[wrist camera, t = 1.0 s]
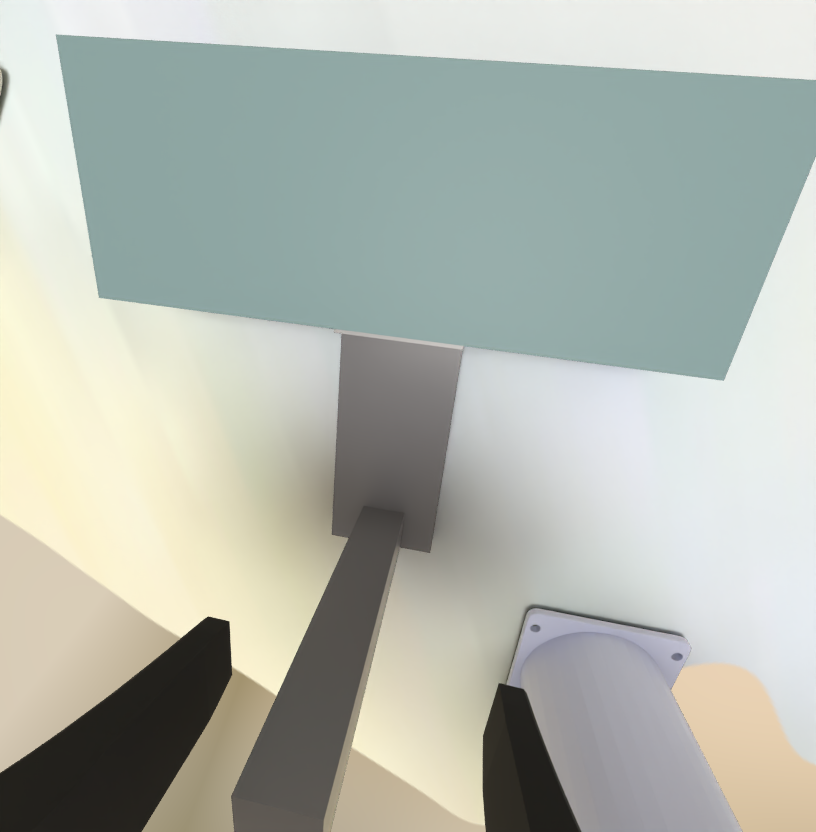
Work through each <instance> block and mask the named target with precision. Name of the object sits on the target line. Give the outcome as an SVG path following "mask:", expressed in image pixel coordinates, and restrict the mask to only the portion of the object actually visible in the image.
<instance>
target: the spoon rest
mask: <svg viewBox="0 0 816 832" xmlns="http://www.w3.org/2000/svg"><path fill="white" fill-rule="evenodd" d="M1 88H2V73H1V70H0V94H1Z"/></svg>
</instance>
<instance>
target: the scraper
mask: <svg viewBox="0 0 816 832" xmlns="http://www.w3.org/2000/svg"><path fill="white" fill-rule="evenodd" d="M334 333H341V334H342V337H341V358H340V378H339V399H338V419H337V439H336V460H335V480H334V501H333V521H332V535H337V536H342V537H348V538H349V539H348V541H347V543H346V545H345V548H344V550H343V552H342V554H341V556H340V559H339V561H338V563H337V565H336V567H335V570H334V572H333V574H332V576H331V578H330V581H329V583H328V585H327V587H326V589H325V592H324V594H323V596H322V598H321V600H320V603H319V605H318V607H317V609H316V611H315V613H314V616H313V618H312V620H311V622H310V624H309V627H308V629H307V631H306V633H305V635H304V638H303V640H302V642H301V644H300V646H299V649H298V651H297V653H296V655H295V657H294V660H293V662H292V664H291V666H290V668H289V670H288V673H287V675H286V677H285V679H284V681H283V684H282V686H281V688H280V690H279V692H278V695H277V697H276V699H275V701H274V703H273V706H272V708H271V710H270V712H269V714H268V717H267V719H266V721H265V723H264V725H263V728H262V730H261V732H260V734H259V737H258V739H257V741H256V743H255V745H254V747H253V750H252V752H251V754H250V756H249V758H248V760H247V763H246V765H245V767H244V769H243V771H242V774H241V776H240V778H239V780H238V782H237V785H236V787H235V789H234V791H233V793H232V796H231V799H232V810H233V822H234V832H331V828H332V824H333V820H334V815H335V811H336V807H337V803H338V799H339V795H340V790H341V787H342V783H343V778H344V775H345V770H346V766H347V762H348V758H349V754H350V750H351V746H352V742H353V738H354V734H355V730H356V725H357V721H358V717H359V713H360V709H361V705H362V701H363V697H364V693H365V689H366V685H367V681H368V676H369V672H370V668H371V664H372V660H373V656H374V652H375V648H376V644H377V640H378V636H379V631H380V627H381V623H382V619H383V615H384V611H385V607H386V603H387V599H388V595H389V591H390V586H391V582H392V578H393V574H394V570H395V566H396V562H397V558H398V554H399V550H400V547H401V548H406V549H412V550H417V551H423V552H428V553H430V550H431V544H432V538H433V531H434V525H435V519H436V513H437V506H438V500H439V494H440V488H441V482H442V475H443V469H444V463H445V457H446V450H447V444H448V438H449V432H450V425H451V419H452V413H453V407H454V400H455V394H456V388H457V382H458V375H459V369H460V363H461V357H462V350H463V348H464V346H459V345H452V344H444V343H437V342H429V341H422V340H414V339H407V338H399V337H392V336H384V335H377V334H369V333H362V332H354V331H347V330H339V329H334Z"/></svg>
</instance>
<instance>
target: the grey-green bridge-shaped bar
mask: <svg viewBox="0 0 816 832" xmlns="http://www.w3.org/2000/svg"><path fill="white" fill-rule="evenodd" d="M56 38H57V44H58V51H59V57H60V63H61V69H62V75H63V81H64V87H65V93H66V99H67V105H68V111H69V118H70V124H71V130H72V136H73V142H74V148H75V154H76V160H77V166H78V172H79V178H80V184H81V191H82V197H83V203H84V209H85V215H86V221H87V227H88V233H89V239H90V245H91V251H92V258H93V264H94V270H95V276H96V282H97V288H98V294H99V298H106V299H113V300H121V301H128V302H136V303H143V304H151V305H158V306H166V307H173V308H181V309H188V310H196V311H203V312H211V313H219V314H226V315H234V316H241V317H249V318H256V319H264V320H271V321H279V322H286V323H294V324H301V325H309V326H316V327H324V328H331V329H339V330H347V331H354V332H362V333H369V334H377V335H384V336H392V337H399V338H407V339H414V340H422V341H429V342H437V343H444V344H452V345H459V346H467V347H474V348H482V349H490V350H497V351H505V352H512V353H520V354H527V355H535V356H542V357H550V358H557V359H565V360H572V361H580V362H587V363H595V364H602V365H610V366H617V367H625V368H633V369H640V370H648V371H655V372H663V373H670V374H678V375H685V376H693V377H700V378H708V379H715V380H723V381H724V379H725V376H726V374H727V372H728V369H729V367H730V364H731V362H732V359H733V357H734V354H735V352H736V350H737V347H738V345H739V342H740V340H741V337H742V335H743V333H744V330H745V328H746V325H747V323H748V320H749V318H750V316H751V313H752V311H753V308H754V306H755V303H756V301H757V298H758V296H759V294H760V291H761V289H762V286H763V284H764V281H765V279H766V277H767V274H768V272H769V269H770V267H771V264H772V262H773V259H774V257H775V255H776V252H777V250H778V247H779V245H780V242H781V240H782V238H783V235H784V233H785V230H786V228H787V225H788V223H789V220H790V218H791V216H792V213H793V211H794V208H795V206H796V203H797V201H798V199H799V196H800V194H801V191H802V189H803V186H804V184H805V181H806V179H807V177H808V174H809V172H810V169H811V167H812V164H813V162H814V160H815V157H816V80H804V79H787V78H770V77H754V76H737V75H720V74H704V73H687V72H670V71H654V70H637V69H620V68H604V67H587V66H570V65H554V64H537V63H520V62H504V61H487V60H470V59H454V58H437V57H420V56H403V55H387V54H370V53H353V52H337V51H320V50H303V49H287V48H270V47H253V46H237V45H220V44H203V43H187V42H170V41H153V40H137V39H120V38H103V37H87V36H70V35H56Z"/></svg>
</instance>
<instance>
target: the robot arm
mask: <svg viewBox="0 0 816 832" xmlns="http://www.w3.org/2000/svg"><path fill="white" fill-rule="evenodd" d="M532 625H536V626H532ZM690 651H691V646H690V644H689V643H688V641H687V640H686V639H685V638H684V637H681V636H677V635H672V634H666V633H661V632H656V631H651V630H646V629H641V628H636V627H631V626H626V625H620V624H615V623H610V622H605V621H600V620H595V619H590V618H585V617H580V616H574V615H569V614H564V613H559V612H554V611H549V610H544V609H539V608H534V609H531V610H529V611H528V612H527V615H526V618H525V621H524V625H523V628H522V632H521V635H520V639H519V642H518V646H517V649H516V653H515V656H514V660H513V663H512V667H511V670H510V673H509V677H508V680H507V684H506V685H505V684H500V683H499V685H498V688H497V691H496V695H495V698H494V701H493V705H492V708H491V711H490V715H489V718H488V721H487V724H486V728H485V731H484V734H483V800H484V814H485V827H486V832H743V831H742V829H741V828H740V825H739V823H738V821H737V819H736V817H735V815H734V813H733V811H732V810H731V808H730V806H729V804H728V802H727V800H726V798H725V796H724V794H723V792H722V790H721V788H720V787H719V784H718V782H717V780H716V778H715V776H714V774H713V772H712V770H711V768H710V766H709V764H708V762H707V761H706V758H705V757H704V755H703V753H702V751H701V749H700V747H699V745H698V743H697V741H696V739H695V737H694V735H693V733H692V731H691V729H690V727H689V725H688V723H687V721H686V719H685V717H684V715H683V713H682V711H681V710H680V707H679V705H678V704H677V702H676V700H675V698H674V696H673V694H672V692H671V688H672V687H673V685H674V683H675V681H676V679H677V677H678V675H679V673H680V671H681V669H682V667H683V665H684V663H685V661H686V659H687V657H688V655H689V653H690ZM231 676H232V665H231V645H230V625H229V621H225V620H221V619H217V618H212V617H207V618H205V619H204V620H203V621H201V622H200V623H199V624H198V625H197V626H195V627H194V628H193V629H192V630H190V631H189V632H188V633H187V634H186V635H184V636H183V637H182V638H181V639H180V640H178V641H177V642H176V643H175V644H174V645H172V646H171V647H170V648H169V649H168V650H166V651H165V652H164V653H163V654H161V655H160V656H159V657H158V658H156V659H155V660H154V661H153V662H152V663H150V664H149V665H148V666H146V667H145V668H144V669H143V670H141V671H140V672H139V673H138V674H136V675H135V676H134V677H132V678H131V679H130V680H129V681H127V682H126V683H125V684H124V685H122V686H121V687H120V688H119V689H118V690H116V691H115V692H114V693H112V694H111V695H109V696H108V697H107V698H106V699H104V700H103V701H102V702H100V703H99V704H98V705H96V706H95V707H93V708H92V709H91V710H89V711H88V712H87V713H85V714H84V715H83V716H81V717H80V718H78V719H77V720H76V721H74V722H73V723H72V724H70V725H69V726H68V727H66V728H65V729H64V730H62V731H61V732H59V733H58V734H57V735H55V736H54V737H52V738H51V739H50V740H48V741H47V742H45V743H44V744H42V745H41V746H39V747H38V748H37V749H35V750H34V751H32V752H31V753H29V754H28V755H26V756H25V757H23V758H22V759H20V760H19V761H17V762H16V763H14V764H13V765H11V766H10V767H9V768H7V769H5V770H4V771H2V772H1V773H0V832H142V830H143V828H144V827H145V825H146V824H147V822H148V820H149V818H150V817H151V815H152V814H153V812H154V811H155V809H156V807H157V806H158V804H159V802H160V801H161V799H162V797H163V796H164V794H165V793H166V791H167V789H168V788H169V786H170V784H171V783H172V781H173V779H174V778H175V776H176V775H177V773H178V771H179V770H180V768H181V767H182V765H183V763H184V762H185V760H186V758H187V757H188V755H189V754H190V752H191V750H192V748H193V747H194V745H195V744H196V742H197V740H198V739H199V737H200V735H201V734H202V732H203V730H204V729H205V727H206V725H207V724H208V722H209V720H210V719H211V717H212V715H213V712H214V710H215V709H216V707H217V705H218V703H219V701H220V698H221V696H222V695H223V692H224V690H225V688H226V686H227V684H228V682H229V680H230V678H231Z"/></svg>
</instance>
